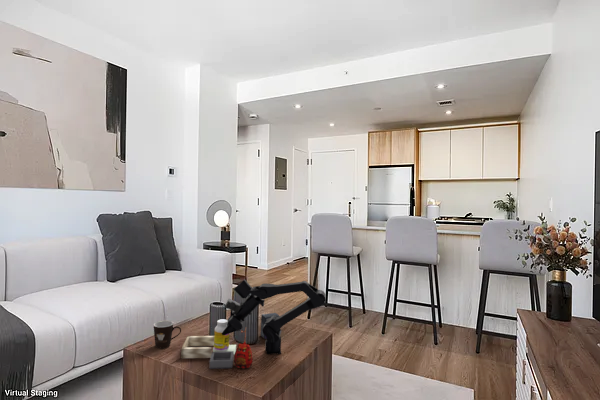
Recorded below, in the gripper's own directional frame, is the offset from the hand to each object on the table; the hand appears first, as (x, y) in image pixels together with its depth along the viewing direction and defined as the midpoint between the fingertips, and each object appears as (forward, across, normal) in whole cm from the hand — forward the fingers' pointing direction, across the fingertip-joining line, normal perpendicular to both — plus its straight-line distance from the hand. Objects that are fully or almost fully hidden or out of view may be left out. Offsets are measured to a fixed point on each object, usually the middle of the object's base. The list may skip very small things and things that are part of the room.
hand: (223, 330), depth 159 cm
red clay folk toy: (0, +15, +13) cm, 20 cm away
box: (-9, -16, +22) cm, 29 cm away
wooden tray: (+14, 0, -1) cm, 14 cm away
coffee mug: (+25, -6, -12) cm, 28 cm away
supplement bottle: (+6, 0, +6) cm, 9 cm away
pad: (+6, 0, +7) cm, 9 cm away
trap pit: (+6, +12, +7) cm, 15 cm away
